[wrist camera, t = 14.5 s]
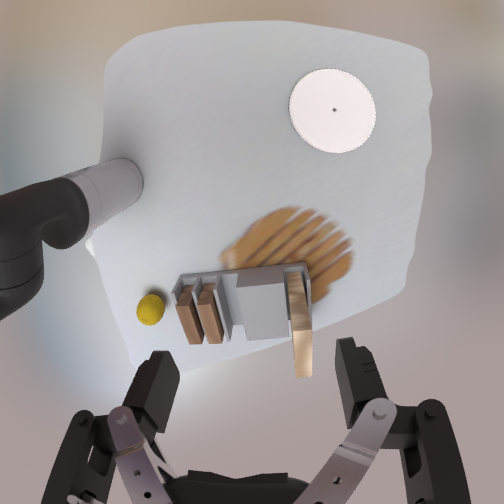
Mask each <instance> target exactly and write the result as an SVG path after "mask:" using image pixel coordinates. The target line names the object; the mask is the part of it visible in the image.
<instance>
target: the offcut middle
mask: <svg viewBox="0 0 504 504" xmlns="http://www.w3.org/2000/svg"><path fill="white" fill-rule="evenodd" d="M214 285H215V283H206V284H204V286H203V289H202V292H201V294H200V297H199V300H198V302H197V309H198V312H199V315H200V318H201V321H202V324H203V327H204V330H205V333H206V336H207V339H208V342H209V344H218V343H222V341H223V336H224V329H223V325H222V322H221V318H220V314H219V311H218V307H217V303H216V299H215V296H214V292H213V288H214Z"/></svg>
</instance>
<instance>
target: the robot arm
mask: <svg viewBox="0 0 504 504" xmlns="http://www.w3.org/2000/svg"><path fill="white" fill-rule="evenodd" d="M142 188H143V180H142V175H141V172H140V170H139V169H138V167H137V166H136V165H135V164H134V163H133V162H131V161H130V160H127V159H123V158H121V159H115V160H111V161H108V162H104V163H100V164H97V165H94V166H90V167H87V168H84V169H81V170H78V171H75V172H72V173H69V174H66V175H63V176H61V177H58V178H55V179H52V180H48V181H44V182H39V183H35V184H32V185H29V186H26V187H24V188H21V189H18V190H15V191H13V192H9V193H6V194H3V195H0V321H1V320H2V319H4V318H6V317H7V316H9V315H10V314H12V313H13V312H15V311H16V310H18V309H19V308H21V307H22V306H24V305H25V304H26V303H28V302H29V301H30V300H31V299H32V298H33V297H34V296H35V295H36V294H37V292H38V291H39V290H40V288H41V286H42V284H43V280H44V262H43V250H42V240H43V241H44V242H45V243H47V244H48V245H49V246H51V247H53V248H56V249H67V248H69V247H71V246H73V245H74V244H76V243H77V242H78V241H80V240H81V239H82V238H83V237H85V236H86V235H88V234H89V233H90V232H92V231H93V230H95V229H96V228H97V227H99V226H100V225H102V224H103V223H105V222H106V221H108V220H109V219H111V218H112V217H114V216H115V215H117V214H118V213H120V212H121V211H123V210H124V209H126V208H127V207H129V206H131V205H132V204H134V203H135V202H136V201H137V200H138V198H139V197H140V195H141V192H142ZM335 370H336V375H337V380H338V384H339V388H340V394H341V399H342V404H343V409H344V414H345V419H346V424H347V429H351V431H350V432H349V434H348V436H347V437H346V438H345V440H344V441H343V443H342V444H341V445H339V446H338V447H337V449H336V450H335V451H334V453H333V454H332V456H331V457H330V458H329V460H328V461H327V463H326V464H325V465H324V466H323V468H322V469H321V470H320V472H319V473H318V474H317V476H316V477H315V478H314V480H313V481H312V482H311V483H310V484H309V483H307V482H305V481H302V480H299V479H295V478H290V477H288V473H272V474H259V475H255V476H250V477H245V478H239V479H233V478H229V477H225V476H222V475H218V474H215V473H212V472H203V471H193V470H188V475H185V476H180V477H178V476H177V474H176V473H175V472H174V471H173V469H172V468H171V467H170V465H169V463H168V461H167V460H166V458H165V456H164V454H163V452H162V450H161V448H160V446H159V444H158V442H157V440H156V438H155V434H156V432H158V433H164V432H165V428H166V425H167V422H168V418H169V415H170V411H171V408H172V405H173V401H174V397H175V395H176V391H177V388H178V384H179V381H180V374H179V370H178V368H177V366H176V364H175V362H174V360H173V358H172V356H171V354H170V352H169V351H153V352H152V354H151V357H150V359H149V360H145V361H144V362H143V363H142V364H141V365H140V366H139V368H138V370H137V372H136V374H135V377H134V379H133V383H132V384H131V386H130V388H129V390H128V392H127V395H126V397H125V399H124V402H123V404H122V406H119V407H116V408H114V409H113V410H112V411H111V412H110V413H109V415H102V416H94V415H93V414H92V413H91V412H90V411H88V410H81V411H79V412H77V413H76V414H75V415H74V416H73V418H72V420H71V423H70V425H69V427H68V430H67V433H66V435H65V437H64V440H63V442H62V444H61V447H60V450H59V452H58V455H57V457H56V460H55V463H54V466H53V468H52V471H51V474H50V477H49V479H48V483H47V485H46V489H45V492H44V495H43V498H42V502H41V504H106V503H107V499H108V495H109V491H110V487H111V483H112V479H113V474H114V471H115V467H116V464H117V467H118V470H119V472H120V475H121V477H122V480H123V482H124V485H125V487H126V489H127V491H128V494H129V496H130V499H131V501H132V503H133V504H345V503H346V502H347V500H348V499H349V498H350V496H351V495H352V493H353V492H354V490H355V489H356V487H357V486H358V484H359V483H360V481H361V480H362V478H363V476H364V475H365V473H366V472H367V470H368V469H369V467H370V465H371V463H372V462H373V460H374V458H375V456H376V454H377V453H378V451H379V449H399V450H400V455H401V461H402V467H403V473H404V480H405V486H406V494H407V502H408V504H471V500H470V495H469V490H468V485H467V480H466V476H465V472H464V468H463V463H462V460H461V456H460V453H459V449H458V445H457V442H456V439H455V436H454V432H453V429H452V426H451V423H450V420H449V417H448V414H447V411H446V409H445V406H444V405H443V404H442V403H441V402H440V401H438V400H435V399H428V400H425V401H423V402H421V403H420V404H419V405H418V406H417V407H415V406H412V407H411V406H409V407H408V406H398V405H396V404H394V403H393V402H392V401H390V400H389V399H388V397H387V395H386V392H385V389H384V386H383V383H382V380H381V378H380V375H379V372H378V370H377V367H376V364H375V361H374V358H373V356H372V353H371V352H370V351H369V350H368V349H367V348H366V347H365V346H361V347H356V345H355V342H354V339H353V338H352V337H349V338H343V339H337V341H336V355H335ZM92 446H93V450H92V453H91V456H90V459H89V462H88V457H89V454H90V451H91V448H92Z"/></svg>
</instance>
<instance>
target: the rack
mask: <svg viewBox="0 0 504 504" xmlns="http://www.w3.org/2000/svg"><path fill="white" fill-rule="evenodd" d="M296 271H300V273H301V277H302V282H303V287H304V292H305V297H306V302H307V307H308V312H309V317H310V322H311V327H312V307H311V285H310V277H309V273H308V269H307V266H306V262H298V263H289V264H281V265H272V266H263V267H254V268H245V269H236V270H227V271H217V272H208V273H198V274H188V275H180V277H179V279H178V281H177V283H176V285H175V287H174V288H173V290H172V292H171V295H172V298H173V301H174V304H175V306H176V304H177V302H178V300H179V298H180V295H181V293H182V291H183V289H184V287H185V285H194V287H193V289H192V291H191V292H192V296H193V299H194V302H195V305H196V308H197V302H198V300H199V297H200V294H201V292H202V289H203V286H204V284H206V283H215V285H214V288H213V292H214V296H215V299H216V303H217V307H218V311H219V314H220V318H221V322H222V325H223V329H224V332H225V336H226V339H227V342H230V340H231V334H232V328H233V325H241V324H244V328H245V333H246V337H247V340H260V339H271V338H282V337H290V336H289V324H288V320H291V319H290V308H289V296H288V285H287V274H286V273H287V272H296ZM197 312H198V309H197ZM198 315H199V312H198ZM199 318H200V315H199ZM200 321H201V318H200ZM201 324H202V321H201ZM202 327H203V324H202ZM203 330H204V327H203ZM204 333H205V330H204ZM205 336H206V333H205ZM206 339H207V336H206ZM207 342H208V339H207ZM208 343H209V342H208Z"/></svg>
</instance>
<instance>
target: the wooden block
mask: <svg viewBox="0 0 504 504" xmlns="http://www.w3.org/2000/svg"><path fill="white" fill-rule="evenodd" d="M286 274H287V285H288V296H289V308H290V319H291V329H292V340H293V350H294V361H295V373H296V378H298V377H307V376H312V327H311V322H310V317H309V312H308V307H307V302H306V297H305V292H304V287H303V282H302V277H301V273H300V271H296V272H287V273H286Z"/></svg>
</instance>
